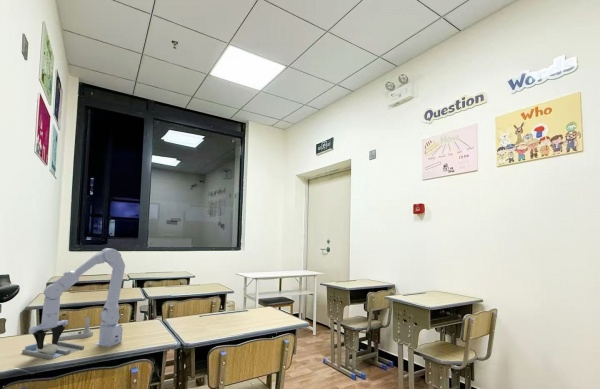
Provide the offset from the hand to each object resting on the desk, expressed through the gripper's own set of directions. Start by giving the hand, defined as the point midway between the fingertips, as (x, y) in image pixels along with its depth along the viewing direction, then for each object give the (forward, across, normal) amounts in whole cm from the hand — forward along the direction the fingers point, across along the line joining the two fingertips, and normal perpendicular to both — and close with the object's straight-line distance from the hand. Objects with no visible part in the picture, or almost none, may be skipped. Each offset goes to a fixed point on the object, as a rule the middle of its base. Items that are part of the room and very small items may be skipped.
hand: (47, 346), depth 139 cm
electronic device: (+4, -20, -12) cm, 24 cm away
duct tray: (+3, -4, -1) cm, 5 cm away
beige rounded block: (+3, 0, 0) cm, 3 cm away
